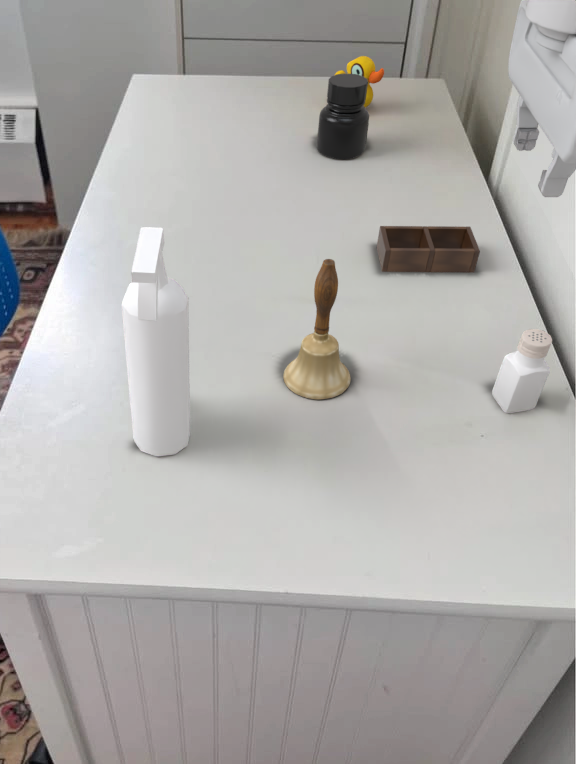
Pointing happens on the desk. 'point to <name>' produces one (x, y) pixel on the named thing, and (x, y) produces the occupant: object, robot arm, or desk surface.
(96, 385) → the desk surface
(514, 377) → the pepper shaker
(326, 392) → the hand bell
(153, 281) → the white spray bottle
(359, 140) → the ink bottle
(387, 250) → the holder
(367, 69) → the duckling
